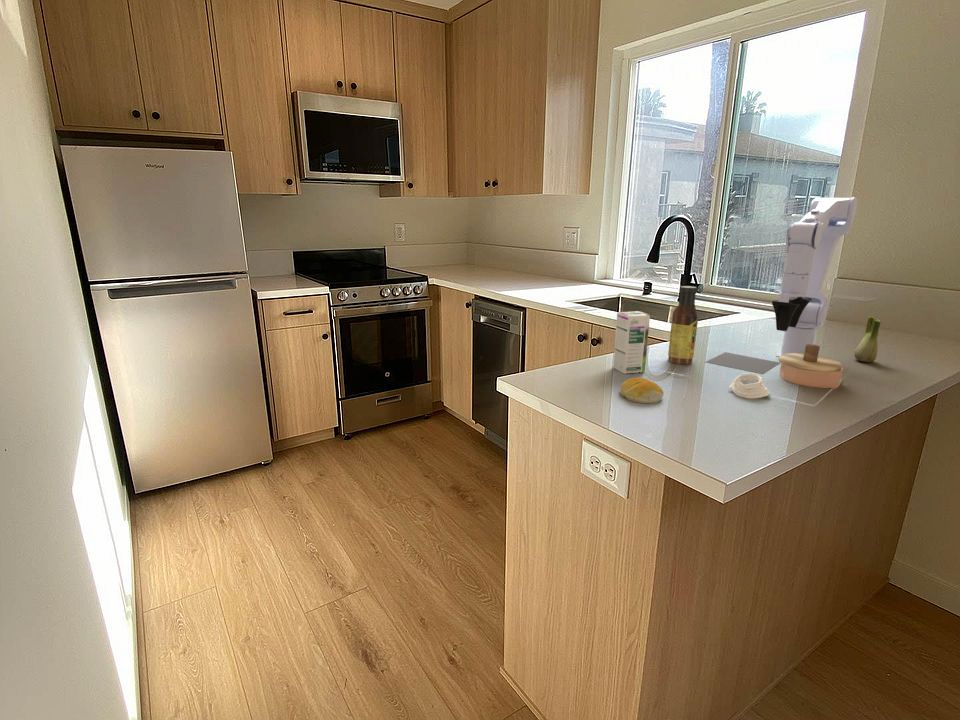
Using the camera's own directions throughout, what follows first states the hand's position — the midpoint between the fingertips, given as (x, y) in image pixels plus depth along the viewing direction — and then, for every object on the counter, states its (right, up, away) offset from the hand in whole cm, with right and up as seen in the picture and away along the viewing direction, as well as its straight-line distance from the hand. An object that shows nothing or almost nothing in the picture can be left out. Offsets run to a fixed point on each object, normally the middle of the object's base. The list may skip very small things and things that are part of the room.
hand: (786, 328), depth 130 cm
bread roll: (-42, -16, -18) cm, 48 cm away
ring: (+2, -13, -6) cm, 14 cm away
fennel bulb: (+27, -8, +11) cm, 30 cm away
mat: (-8, -9, +7) cm, 13 cm away
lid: (+1, -9, -7) cm, 11 cm away
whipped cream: (-17, -16, -15) cm, 28 cm away
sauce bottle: (-24, -9, +7) cm, 26 cm away
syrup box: (-39, -11, 0) cm, 41 cm away
